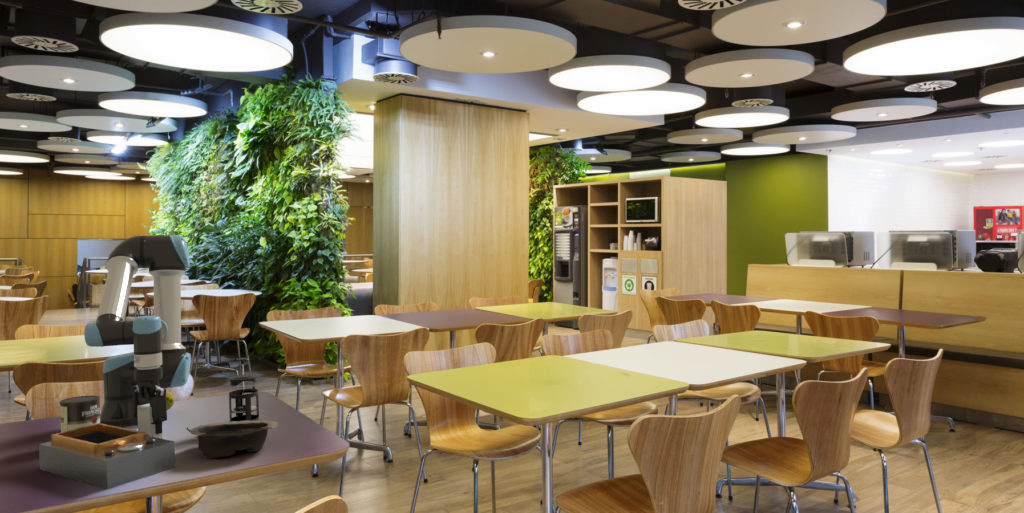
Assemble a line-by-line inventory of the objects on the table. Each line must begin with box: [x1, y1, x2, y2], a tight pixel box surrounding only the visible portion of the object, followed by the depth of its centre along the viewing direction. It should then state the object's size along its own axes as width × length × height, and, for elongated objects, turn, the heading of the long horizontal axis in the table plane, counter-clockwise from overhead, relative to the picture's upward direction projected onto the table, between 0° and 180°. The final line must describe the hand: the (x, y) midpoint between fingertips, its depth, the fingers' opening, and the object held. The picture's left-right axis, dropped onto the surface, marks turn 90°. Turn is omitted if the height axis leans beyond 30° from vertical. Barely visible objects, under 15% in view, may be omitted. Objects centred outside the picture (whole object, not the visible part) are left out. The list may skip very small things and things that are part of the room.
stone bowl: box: [186, 420, 279, 459], centre depth 195 cm, size 25×25×9 cm
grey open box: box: [38, 423, 176, 490], centre depth 180 cm, size 32×18×9 cm, turn 61°
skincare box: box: [137, 403, 164, 439], centre depth 201 cm, size 6×4×12 cm
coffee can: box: [59, 395, 101, 433], centre depth 202 cm, size 10×10×14 cm
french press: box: [227, 357, 260, 422], centre depth 218 cm, size 12×9×23 cm
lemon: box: [155, 390, 175, 411], centre depth 241 cm, size 11×8×8 cm
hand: (150, 442), depth 202 cm, fingers closed on skincare box, 6 cm apart
